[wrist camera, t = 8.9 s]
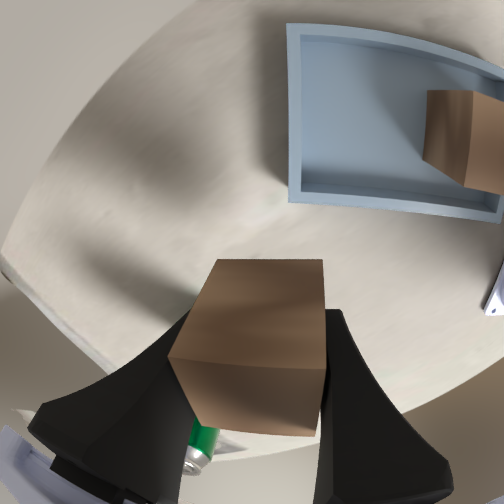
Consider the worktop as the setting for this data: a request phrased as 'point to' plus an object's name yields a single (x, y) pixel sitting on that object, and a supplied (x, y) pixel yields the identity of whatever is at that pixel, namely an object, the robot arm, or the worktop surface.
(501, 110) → the walnut block
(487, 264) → the worktop surface
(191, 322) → the walnut block
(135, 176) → the worktop surface
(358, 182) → the tray
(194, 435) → the soda can
